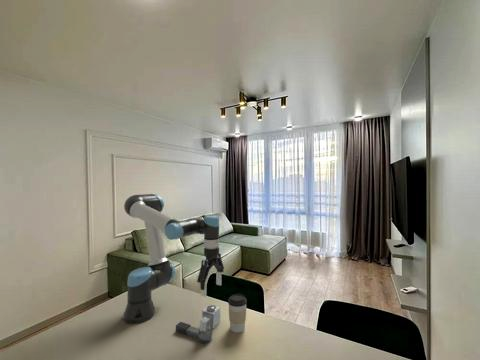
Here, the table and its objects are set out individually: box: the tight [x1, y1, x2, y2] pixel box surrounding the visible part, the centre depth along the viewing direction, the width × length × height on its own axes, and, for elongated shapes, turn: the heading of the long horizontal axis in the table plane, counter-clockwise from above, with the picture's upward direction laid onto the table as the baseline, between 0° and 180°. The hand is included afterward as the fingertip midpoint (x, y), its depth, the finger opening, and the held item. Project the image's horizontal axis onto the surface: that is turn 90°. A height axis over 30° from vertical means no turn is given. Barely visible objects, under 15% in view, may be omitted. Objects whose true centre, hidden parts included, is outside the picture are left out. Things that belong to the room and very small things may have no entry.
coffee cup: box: [227, 292, 248, 334], centre depth 109 cm, size 9×9×15 cm
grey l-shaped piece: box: [175, 317, 213, 345], centre depth 103 cm, size 18×6×8 cm, turn 64°
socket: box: [201, 304, 221, 330], centre depth 112 cm, size 6×6×8 cm
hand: (211, 290), depth 113 cm, fingers open, 13 cm apart
